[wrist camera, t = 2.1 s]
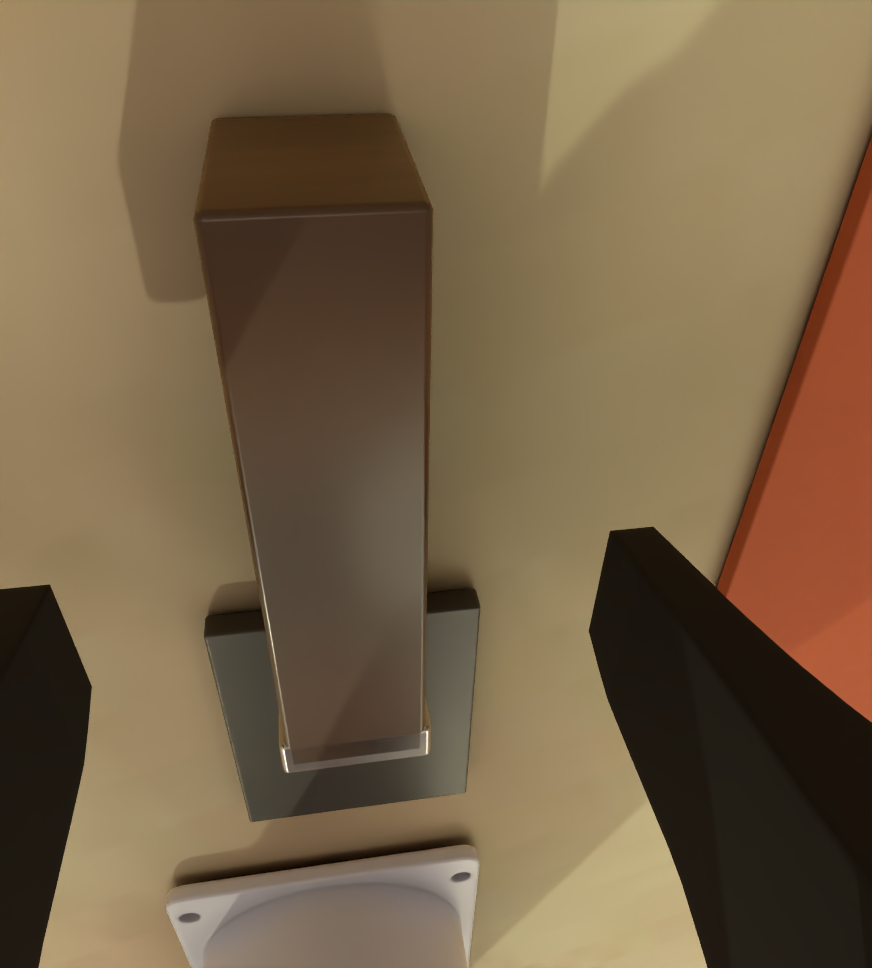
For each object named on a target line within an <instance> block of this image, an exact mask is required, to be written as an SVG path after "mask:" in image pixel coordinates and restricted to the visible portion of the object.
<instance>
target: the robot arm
mask: <svg viewBox="0 0 872 968" xmlns="http://www.w3.org/2000/svg"><path fill="white" fill-rule="evenodd" d="M589 633H590V637H591V641H592V644H593V648H594V652H595V656H596V660H597V664H598V667H599V671H600V674H601V678H602V681H603V685H604V688H605V692H606V695H607V699H608V701H609V704H610V706H611V709H612V711H613V714H614V716H615V719H616V721H617V724H618V726H619V729H620V731H621V734H622V736H623V739H624V741H625V743H626V746H627V748H628V751H629V753H630V756H631V758H632V760H633V763H634V765H635V768H636V770H637V773H638V775H639V777H640V780H641V782H642V785H643V787H644V789H645V792H646V794H647V797H648V799H649V801H650V804H651V806H652V809H653V811H654V813H655V816H656V818H657V821H658V823H659V826H660V828H661V830H662V833H663V835H664V838H665V840H666V842H667V845H668V847H669V850H670V852H671V855H672V858H673V861H674V863H675V866H676V869H677V871H678V874H679V877H680V880H681V882H682V885H683V889H684V892H685V895H686V898H687V902H688V905H689V908H690V911H691V915H692V918H693V921H694V924H695V928H696V931H697V934H698V937H699V941H700V944H701V947H702V950H703V954H704V957H705V960H706V964H707V967H708V968H872V722H870V721H869V720H868V719H866V718H865V717H864V716H863V715H861V714H860V713H859V712H857V711H856V710H855V709H854V708H852V707H851V706H850V705H848V704H847V703H846V702H845V701H843V700H842V699H841V698H840V697H839V696H837V695H836V694H835V693H834V692H833V691H831V690H830V689H829V688H828V687H826V686H825V685H824V684H823V683H822V682H820V681H819V680H818V679H817V678H816V677H814V676H813V675H812V674H811V673H809V672H808V671H807V670H806V669H805V668H803V667H802V666H801V665H800V664H799V663H798V662H796V661H795V660H794V659H793V658H792V657H791V656H790V655H788V654H787V653H786V652H785V651H784V650H783V649H782V648H781V647H779V646H778V645H777V644H776V643H775V642H774V641H773V640H772V639H771V638H770V637H768V636H767V635H766V634H765V633H764V632H763V631H762V630H761V629H760V628H759V627H757V626H756V625H755V624H754V623H753V622H752V621H751V620H750V619H749V618H747V617H746V616H745V615H744V614H743V613H742V612H741V611H740V610H739V609H738V608H737V607H736V606H735V605H734V604H733V603H732V602H730V601H729V600H728V599H727V598H726V597H725V596H724V595H723V594H722V593H721V592H720V591H719V590H718V589H717V588H716V587H715V586H714V585H713V584H712V583H711V582H710V581H709V580H708V579H707V578H706V577H704V576H703V575H702V574H701V573H700V572H699V571H698V570H697V569H696V568H695V567H694V566H693V565H692V564H691V563H690V562H689V561H688V560H687V559H686V558H685V557H684V556H683V555H682V554H681V553H680V552H679V551H678V550H677V549H676V548H675V547H674V546H673V545H672V544H671V543H670V542H668V541H667V540H666V539H665V538H664V537H663V536H662V535H661V534H660V533H659V532H658V531H657V530H656V529H655V528H654V527H646V528H635V529H625V530H615V531H610V533H609V538H608V543H607V547H606V552H605V557H604V562H603V566H602V571H601V576H600V580H599V585H598V590H597V595H596V599H595V604H594V609H593V614H592V618H591V623H590V628H589ZM91 689H92V686H91V683H90V681H89V679H88V676H87V674H86V671H85V669H84V666H83V664H82V662H81V659H80V657H79V654H78V652H77V649H76V647H75V645H74V642H73V640H72V637H71V635H70V632H69V630H68V628H67V625H66V623H65V620H64V618H63V615H62V613H61V610H60V608H59V606H58V603H57V601H56V598H55V596H54V593H53V591H52V589H51V586H50V585H41V586H31V587H20V588H10V589H0V968H38V967H39V962H40V957H41V951H42V946H43V941H44V937H45V933H46V928H47V924H48V920H49V915H50V911H51V907H52V902H53V898H54V894H55V890H56V885H57V881H58V877H59V872H60V868H61V864H62V859H63V855H64V851H65V846H66V842H67V838H68V834H69V829H70V825H71V820H72V816H73V812H74V807H75V803H76V798H77V794H78V789H79V785H80V780H81V776H82V771H83V766H84V760H85V751H86V742H87V733H88V723H89V712H90V700H91ZM479 867H480V862H479V857H478V852H477V849H476V848H474V847H473V846H470V845H456V846H449V847H442V848H435V849H428V850H421V851H414V852H407V853H400V854H394V855H387V856H380V857H373V858H366V859H359V860H352V861H345V862H338V863H331V864H324V865H318V866H311V867H304V868H297V869H290V870H283V871H276V872H269V873H262V874H255V875H249V876H242V877H235V878H228V879H221V880H214V881H207V882H200V883H193V884H186V885H182V886H177V887H176V888H174V889H172V890H171V891H170V892H169V893H168V894H167V902H166V911H167V914H168V916H169V918H170V920H171V923H172V925H173V927H174V930H175V932H176V934H177V936H178V939H179V941H180V943H181V946H182V948H183V950H184V952H185V955H186V957H187V959H188V962H189V964H190V966H191V968H468V967H469V958H470V949H471V940H472V931H473V922H474V913H475V904H476V894H477V885H478V876H479Z"/></svg>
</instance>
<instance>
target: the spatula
mask: <svg viewBox="0 0 872 968" xmlns="http://www.w3.org/2000/svg"><path fill="white" fill-rule="evenodd" d="M193 220H194V225H195V231H196V237H197V242H198V248H199V254H200V260H201V265H202V271H203V277H204V282H205V288H206V294H207V300H208V305H209V311H210V317H211V322H212V328H213V334H214V340H215V345H216V351H217V357H218V362H219V368H220V374H221V380H222V385H223V391H224V397H225V403H226V408H227V414H228V420H229V425H230V431H231V437H232V443H233V448H234V454H235V460H236V465H237V471H238V477H239V483H240V488H241V494H242V500H243V505H244V511H245V517H246V523H247V528H248V534H249V540H250V546H251V551H252V557H253V563H254V568H255V574H256V580H257V586H258V591H259V597H260V603H261V608H262V611H252V612H242V613H233V614H223V615H213V616H207V617H206V619H205V629H204V638H205V642H206V646H207V650H208V654H209V658H210V662H211V666H212V670H213V674H214V678H215V682H216V686H217V690H218V694H219V698H220V702H221V706H222V710H223V714H224V718H225V722H226V726H227V730H228V734H229V738H230V742H231V746H232V751H233V755H234V759H235V763H236V767H237V771H238V775H239V779H240V783H241V787H242V791H243V795H244V799H245V803H246V807H247V811H248V815H249V819H250V821H251V822H255V821H263V820H270V819H277V818H285V817H292V816H299V815H307V814H314V813H321V812H328V811H336V810H343V809H350V808H358V807H365V806H372V805H380V804H387V803H394V802H402V801H409V800H416V799H424V798H431V797H438V796H446V795H453V794H460V793H465V792H466V785H467V772H468V759H469V746H470V733H471V720H472V707H473V694H474V682H475V669H476V656H477V643H478V630H479V617H480V603H479V600H478V596H477V592H476V590H475V589H465V590H455V591H446V592H436V593H427V561H428V499H429V436H430V373H431V311H432V248H433V208H432V205H431V203H430V201H429V198H428V196H427V193H426V191H425V188H424V186H423V183H422V181H421V178H420V176H419V174H418V171H417V169H416V166H415V164H414V161H413V159H412V156H411V154H410V151H409V149H408V146H407V144H406V142H405V139H404V137H403V134H402V132H401V129H400V127H399V124H398V122H397V119H396V117H395V116H393V115H391V114H378V115H338V116H299V117H260V118H221V119H216V120H213V121H212V124H211V128H210V133H209V139H208V144H207V149H206V155H205V160H204V165H203V171H202V176H201V182H200V187H199V192H198V198H197V203H196V208H195V214H194V219H193Z"/></svg>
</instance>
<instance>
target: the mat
mask: <svg viewBox="0 0 872 968" xmlns="http://www.w3.org/2000/svg"><path fill="white" fill-rule="evenodd" d="M717 589H718V590H719V591H720V592H721V593H722V594H723V595H724V596H725V597H726V598H727V599H728V600H729V601H730V602H732V603H733V604H734V605H735V606H736V607H737V608H738V609H739V610H740V611H741V612H742V613H743V614H744V615H745V616H746V617H747V618H749V619H750V620H751V621H752V622H753V623H754V624H755V625H756V626H757V627H759V628H760V629H761V630H762V631H763V632H764V633H765V634H766V635H767V636H768V637H770V638H771V639H772V640H773V641H774V642H775V643H776V644H777V645H778V646H779V647H781V648H782V649H783V650H784V651H785V652H786V653H787V654H788V655H790V656H791V657H792V658H793V659H794V660H795V661H796V662H798V663H799V664H800V665H801V666H802V667H803V668H805V669H806V670H807V671H808V672H809V673H811V674H812V675H813V676H814V677H816V678H817V679H818V680H819V681H820V682H822V683H823V684H824V685H825V686H826V687H828V688H829V689H830V690H831V691H833V692H834V693H835V694H836V695H837V696H839V697H840V698H841V699H842V700H843V701H845V702H846V703H847V704H848V705H850V706H851V707H852V708H854V709H855V710H856V711H857V712H859V713H860V714H861V715H863V716H864V717H865V718H866V719H868V720H869V721H870V722H872V137H871V140H870V143H869V146H868V149H867V152H866V154H865V157H864V160H863V163H862V166H861V169H860V172H859V175H858V178H857V181H856V184H855V187H854V189H853V192H852V195H851V198H850V201H849V204H848V207H847V210H846V213H845V216H844V219H843V222H842V224H841V227H840V230H839V233H838V236H837V239H836V242H835V245H834V248H833V251H832V254H831V257H830V259H829V262H828V265H827V268H826V271H825V274H824V277H823V280H822V283H821V286H820V289H819V292H818V294H817V297H816V300H815V303H814V306H813V309H812V312H811V315H810V318H809V321H808V324H807V327H806V329H805V332H804V335H803V338H802V341H801V344H800V347H799V350H798V353H797V356H796V359H795V362H794V364H793V367H792V370H791V373H790V376H789V379H788V382H787V385H786V388H785V391H784V394H783V396H782V399H781V402H780V405H779V408H778V411H777V414H776V417H775V420H774V423H773V426H772V429H771V431H770V434H769V437H768V440H767V443H766V446H765V449H764V452H763V455H762V458H761V461H760V464H759V466H758V469H757V472H756V475H755V478H754V481H753V484H752V487H751V490H750V493H749V496H748V499H747V501H746V504H745V507H744V510H743V513H742V516H741V519H740V522H739V525H738V528H737V531H736V534H735V536H734V539H733V542H732V545H731V548H730V551H729V554H728V557H727V560H726V563H725V566H724V569H723V571H722V574H721V577H720V580H719V583H718V586H717Z"/></svg>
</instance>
